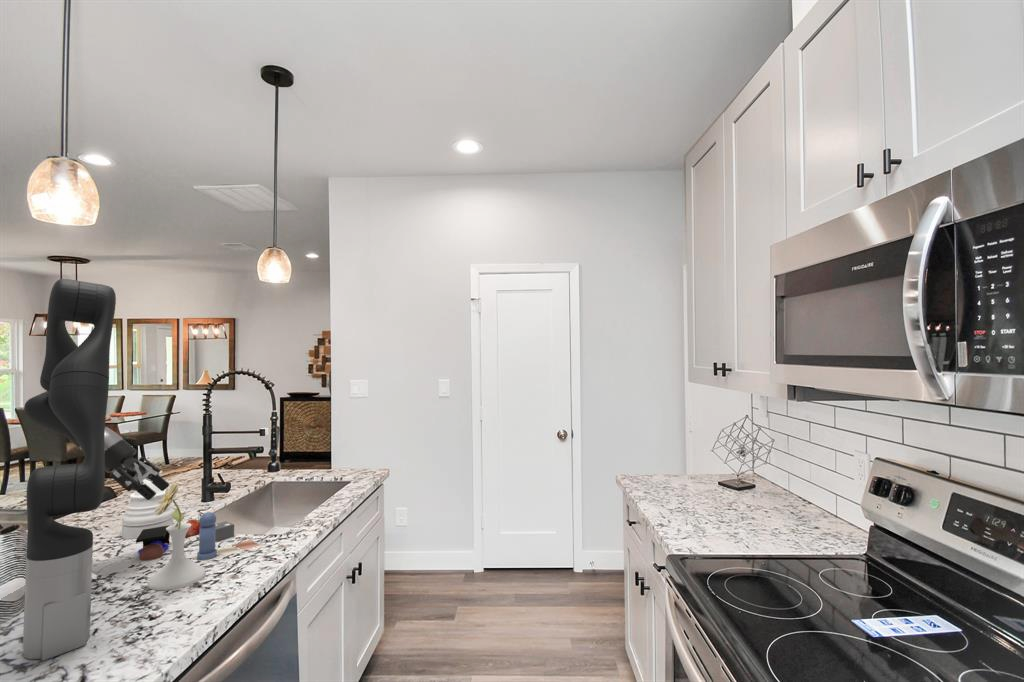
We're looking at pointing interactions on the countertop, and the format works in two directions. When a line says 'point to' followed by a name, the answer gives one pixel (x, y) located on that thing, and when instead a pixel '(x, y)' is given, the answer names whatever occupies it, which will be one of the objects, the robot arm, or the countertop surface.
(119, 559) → the countertop surface
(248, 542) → the board
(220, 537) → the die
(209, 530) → the pawn
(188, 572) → the flower in vase
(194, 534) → the pomegranate
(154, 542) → the figurine character
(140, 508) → the honey pot
